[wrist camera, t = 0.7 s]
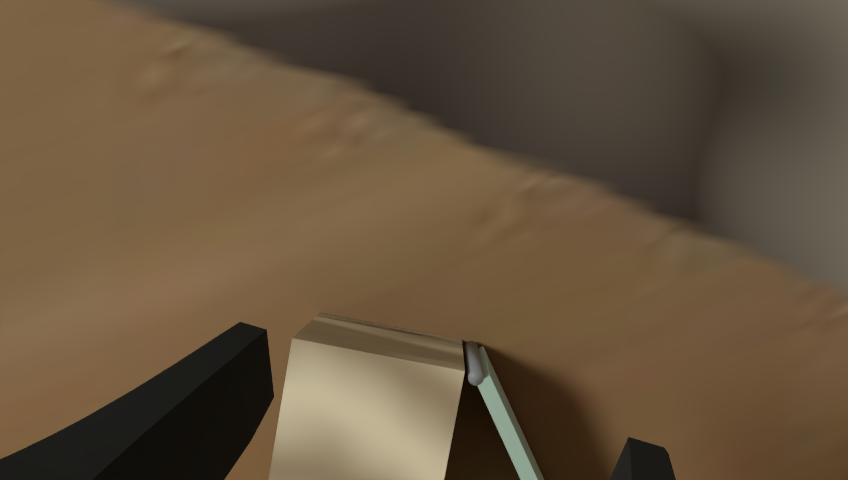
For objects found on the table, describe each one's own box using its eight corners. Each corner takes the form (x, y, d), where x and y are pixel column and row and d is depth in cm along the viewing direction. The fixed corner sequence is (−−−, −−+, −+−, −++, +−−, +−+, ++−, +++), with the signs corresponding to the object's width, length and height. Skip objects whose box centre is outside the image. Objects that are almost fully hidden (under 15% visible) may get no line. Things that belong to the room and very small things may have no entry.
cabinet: (415, 580, 37) (409, 661, 31) (279, 552, 37) (243, 627, 31) (461, 340, 36) (464, 371, 29) (320, 313, 36) (292, 338, 30)
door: (596, 555, 36) (625, 626, 30) (565, 567, 36) (588, 641, 30) (494, 330, 35) (503, 357, 29) (462, 344, 36) (465, 374, 30)
